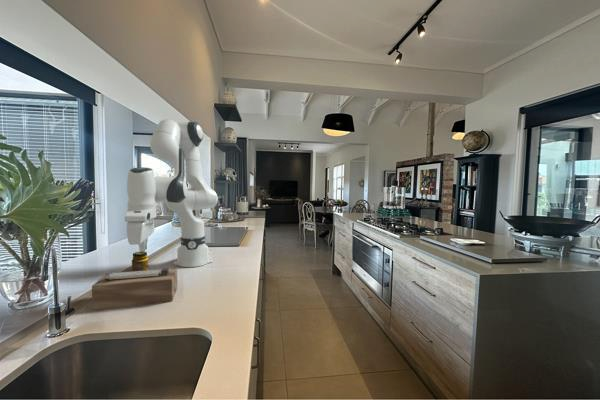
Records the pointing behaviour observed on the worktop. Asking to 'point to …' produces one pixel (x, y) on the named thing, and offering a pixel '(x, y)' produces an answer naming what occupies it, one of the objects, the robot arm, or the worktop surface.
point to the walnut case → (134, 290)
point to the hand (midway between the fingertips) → (143, 250)
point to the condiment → (140, 261)
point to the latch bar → (132, 274)
